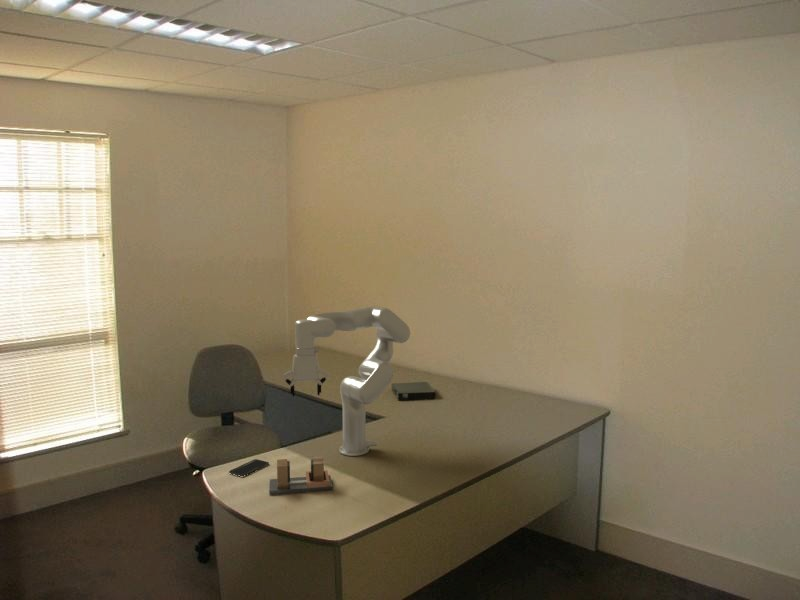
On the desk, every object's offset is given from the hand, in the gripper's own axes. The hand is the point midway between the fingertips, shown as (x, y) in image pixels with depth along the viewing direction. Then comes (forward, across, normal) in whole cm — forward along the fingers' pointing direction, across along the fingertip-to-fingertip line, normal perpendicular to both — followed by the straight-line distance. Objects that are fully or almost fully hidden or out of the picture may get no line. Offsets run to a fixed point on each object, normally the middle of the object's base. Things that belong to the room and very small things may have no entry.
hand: (306, 395), depth 241 cm
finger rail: (+28, +3, +20) cm, 35 cm away
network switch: (+29, -62, -91) cm, 114 cm away
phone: (+29, +22, 0) cm, 36 cm away
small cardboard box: (+27, -3, +20) cm, 34 cm away
